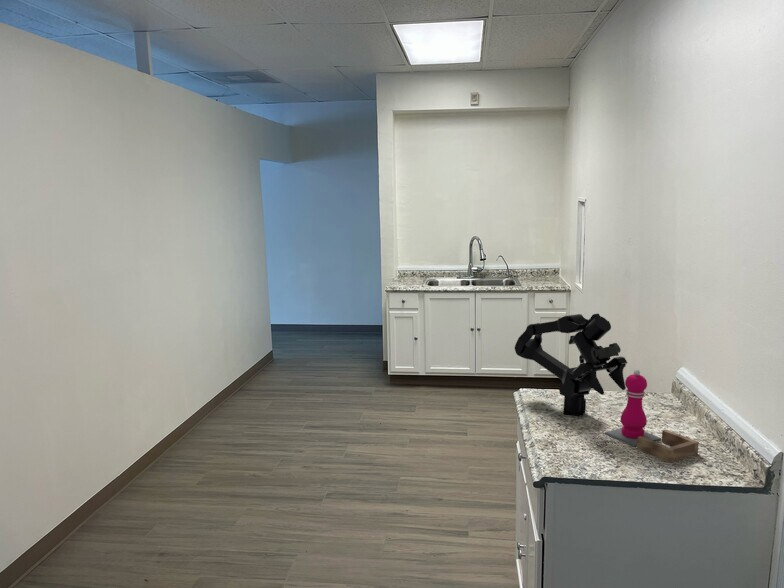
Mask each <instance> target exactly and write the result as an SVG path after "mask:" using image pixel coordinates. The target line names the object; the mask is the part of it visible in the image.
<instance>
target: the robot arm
mask: <svg viewBox="0 0 784 588" xmlns="http://www.w3.org/2000/svg"><path fill="white" fill-rule="evenodd" d="M611 329H612V325H611V323H610V321H609V320H608V319H606V318H605V317H603V316H601V315H600V314H599V313H593V314H592V315H591V316H590V318H589V319H587V318H586V317H585V316H584V315H583V314H581V313H578V314H569V315H564V316H562V317H559V318H558V319H555V320H553V321H548V322H547V321H546V322H541V323H539V322H536V323H530V324H529V325H527V327H526V329H525V330H524V331H523V333H521V334H520V336H519V337H518V339H517V340H516V342H515V345H514V351H515V354H516V355H517V356H519V357H521V358H522V359H525V360H531V361H533V362H535V363H537V364H539V365H540V366H541V367H542V368H544V369H545V370H547V371H548V372H549V373H551V374H552V375H554V376H555V377H557V378H558V379H559V380H561V383H562V385H561V386H559V387H558V391H559V395H561V396H563V411H562V414H563V415H567V416H578V417H584V416H585V413H586V408H587V399H586V397H585V395H589V394H590V392H591V390H594V391H596V392H597V393H598V394H600V395H601V396H603V395H604V394H605V391H604V388H603V387H602V385H601V383H600V381H599V379H598V377H597V372H598V371H599V372H600V371H604V370H606V372H607V373H608V376H609V378H610V379H612V381H613V382H614V383H615V384H616V386H618V387H619V389H621V390H622V391H624V390H627V387H626V385H625V379H624V369H625V367H626V365H627V364H628V361H627V359H626V357H624V356H620V355H619V353H621V347H620V345H619V344H618V343H617V342H613V343H609V345H608V346H605V347H603V346H602V345H598V344H597V342H596V341H599V340H601V339H602V338H603V337H604V336H605V335H606V334H607V333H608V332H609V331H611ZM554 332H555V333H556V332H559V333H562V334H563V333H564V334H573V333H576V334H574V335H570V336H569V340H568V345H575V346H576V348H577V350H578V351H579V353H580V355H579V358H580V360H584V362H582V363H580V364H579V365H577V366H576V367H575V366H574V367H569V366H567V365H566V364H565V363H563V362H562V361H560V360H558V359H557V358H555V357H554V356H552V355H551V354H550V353H548V352H547V351H546V350H544V349H543V346H542V343H543V337H542V335H543V334H548V333H549V334H550V333H554ZM611 357H613V358H612V359H611Z"/></svg>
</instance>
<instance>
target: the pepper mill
mask: <svg viewBox="0 0 784 588" xmlns="http://www.w3.org/2000/svg"><path fill="white" fill-rule="evenodd" d="M624 383H625V387H626V389H625V390H626V394H625V395H626V396H627V402H626V406H625V407H624V410H623V411H622V413H621V415H620V423H621V424H622V427H621V428H622V431H621V433H622V435H624V436H625V437H628V438H634V439H638V437H640V436H642V437H644V431H645V429H644V428H645V427H646V426H647V424H648V422H647V420H648V419H647V416H646V414H645V411H644V407H643V398H644V397H645V394H646V393H645V390H647V387H648V381H647V379H646V378H645V377H644V376H643V375H641V371H640V370H639V369H635V370H634V371H633V373H632V374H629V375H628V376H627V377H626V379H625V380H624Z"/></svg>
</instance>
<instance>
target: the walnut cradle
mask: <svg viewBox="0 0 784 588" xmlns="http://www.w3.org/2000/svg"><path fill="white" fill-rule="evenodd" d="M661 442H662V443H664V444H666V445H669V446H670V447H669V446H666V445H663V444H662V443H659V442H658V441H655V442H654V441H652V440H650V439H647V438H645V437H642V436H640V437H638V439H637V447H636V449H637V450H638V451H641V452H644V453H646V454H647V455H650V456H653V457H655V458H656V459H660V460H661V461H664V462H667V463H669V464H670V463H673V462H678V461H680V460H684V459H686V457H687V458H690V457H693V456H697V455H698V453H699V445H700V442H699V441H698V440H695V439H692V438H689V437H687V436H684V435H681V434H678V433H676V432H674V431H671V430H669V429H663V430H662V431H661ZM689 456H690V457H689Z"/></svg>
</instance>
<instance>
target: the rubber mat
mask: <svg viewBox="0 0 784 588" xmlns="http://www.w3.org/2000/svg"><path fill="white" fill-rule="evenodd" d="M621 431H622V427H619V428H617V429H613V430H609V431H606V432H604V435H606V436H608V437H611V438H613V439H616V440H618V441H620V442H622V443H624V444H626V445H629V446H631V447H633V448H637V439H634V438H628V437H625V436H624V435H622V433H621ZM644 437H645V438H647V439H650V440H652V441H654V442H659V441H662V437H659V436H657V435H655V434H652V433H649V432H647V431H645V430H644Z"/></svg>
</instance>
